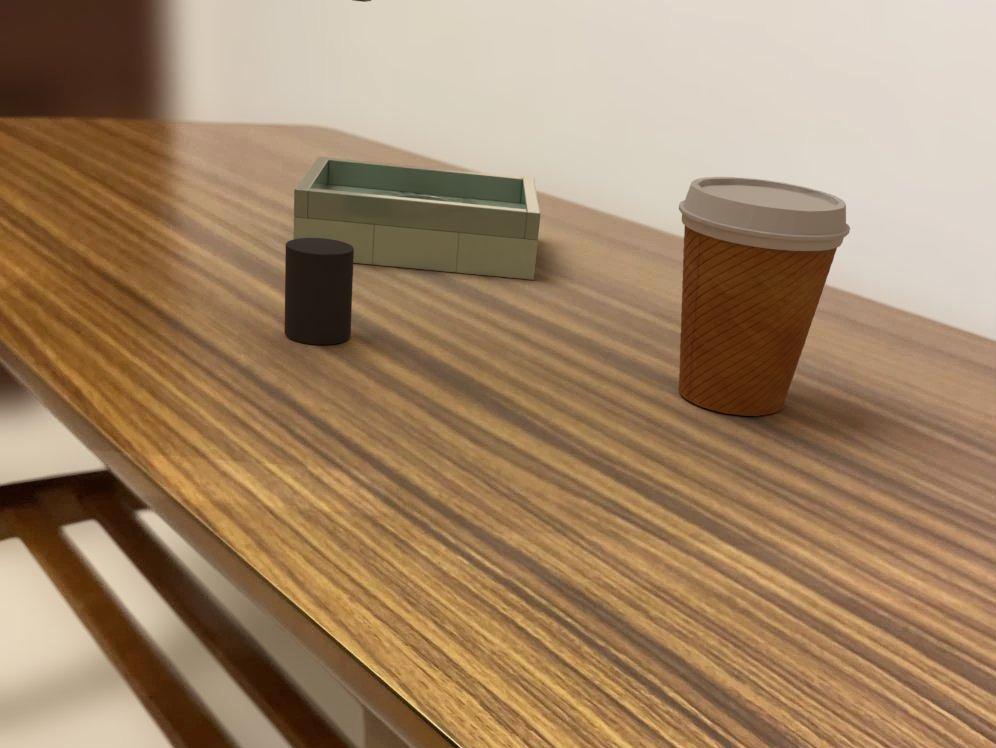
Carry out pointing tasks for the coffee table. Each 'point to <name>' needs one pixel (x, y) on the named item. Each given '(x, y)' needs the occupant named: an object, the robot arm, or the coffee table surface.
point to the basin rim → (418, 211)
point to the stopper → (318, 290)
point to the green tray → (427, 242)
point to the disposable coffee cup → (751, 287)
